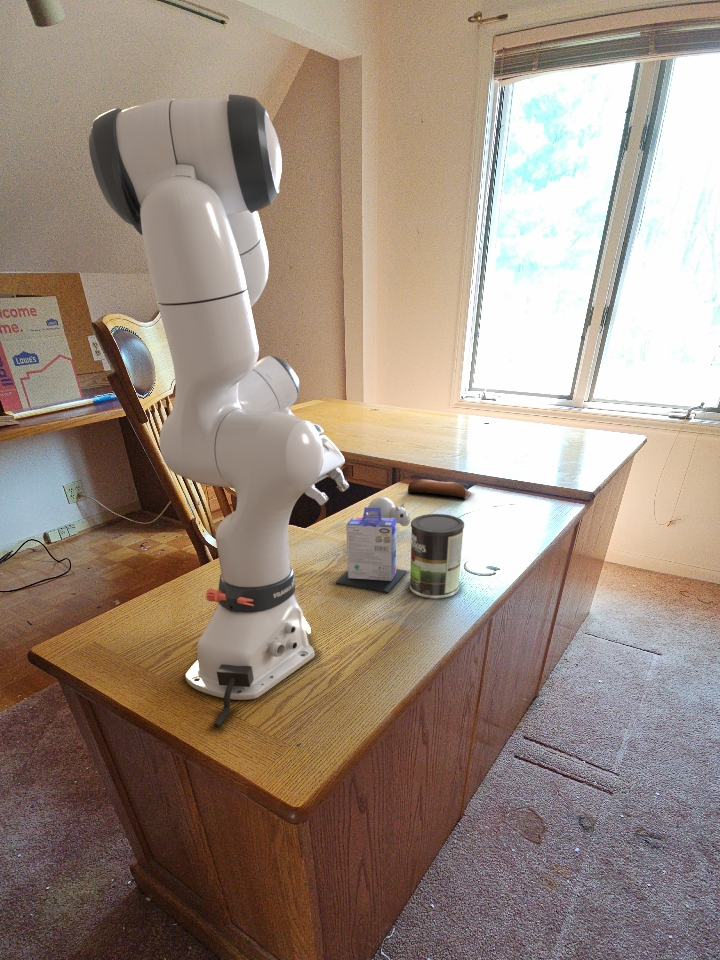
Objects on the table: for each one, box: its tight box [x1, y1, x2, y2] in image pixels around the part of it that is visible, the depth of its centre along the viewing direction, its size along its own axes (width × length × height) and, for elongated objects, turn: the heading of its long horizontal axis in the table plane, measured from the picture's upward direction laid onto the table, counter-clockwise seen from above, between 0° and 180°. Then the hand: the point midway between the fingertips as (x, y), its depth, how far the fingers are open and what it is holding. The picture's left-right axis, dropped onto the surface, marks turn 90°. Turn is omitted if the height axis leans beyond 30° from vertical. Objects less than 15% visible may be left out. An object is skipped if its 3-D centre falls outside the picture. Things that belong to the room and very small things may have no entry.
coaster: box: [335, 568, 408, 594], centre depth 121 cm, size 11×12×1 cm
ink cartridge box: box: [345, 506, 397, 581], centre depth 117 cm, size 10×6×14 cm, turn 78°
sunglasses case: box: [407, 478, 472, 500], centre depth 170 cm, size 18×7×7 cm, turn 64°
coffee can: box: [409, 513, 465, 600], centre depth 112 cm, size 10×10×14 cm
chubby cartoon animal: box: [367, 496, 411, 527], centre depth 142 cm, size 7×12×8 cm, turn 56°
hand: (335, 495), depth 115 cm, fingers open, 8 cm apart
